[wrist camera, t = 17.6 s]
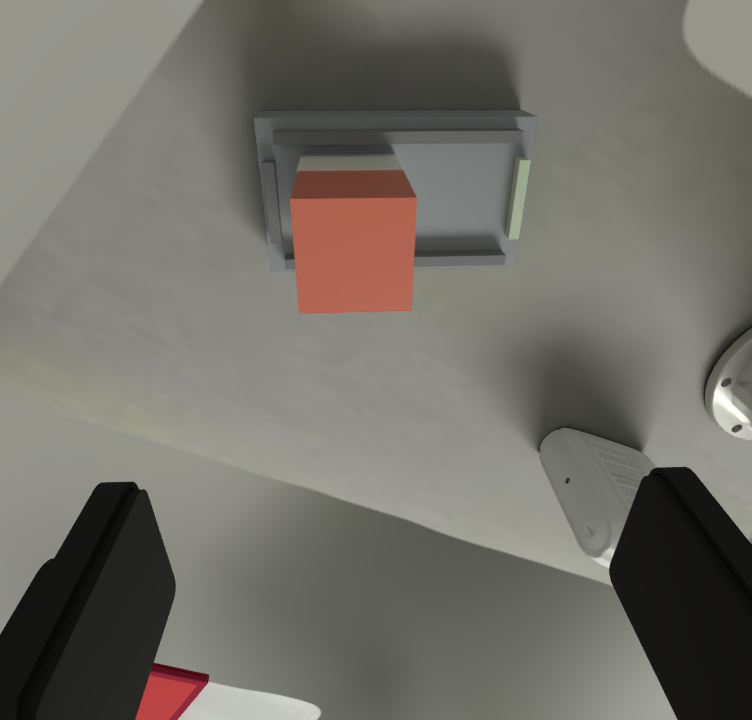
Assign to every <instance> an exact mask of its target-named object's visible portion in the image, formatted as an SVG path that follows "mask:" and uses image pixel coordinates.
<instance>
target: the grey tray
mask: <svg viewBox="0 0 752 720" xmlns="http://www.w3.org/2000/svg"><path fill="white" fill-rule="evenodd" d="M537 120H538V116H535V115H533V114H530V113H528V112H525V111H523V110H362V111H260V112H259V113H258V114H257V115H256V116H255V117H254V126H255V134H256V143H257V152H258V161H259V170H260V179H261V188H262V197H263V206H264V215H265V224H266V233H267V242H268V250H269V259H270V268H271V272H296V269H295V256H294V244H293V232H292V219H291V207H290V197H291V193H292V190H293V186H294V183H295V179H296V176H297V167H298V164H299V161H300V158H301V154H302V153H395V155H396V157H397V159H398V161H399V163H400V165H401V167H402V170H404V172H405V174H406V176H407V178H408V180H409V183H410V185H411V187H412V189H413V191H414V193H415V195H416V197H417V208H416V229H415V250H414V269H440V268H486V267H515V261H516V255H517V248H518V242H519V235H520V229H521V223H522V216H523V210H524V203H525V197H526V190H527V184H528V178H529V171H530V165H531V158H532V152H533V146H534V139H535V133H536V126H537Z"/></svg>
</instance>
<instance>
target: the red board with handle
mask: <svg viewBox="0 0 752 720" xmlns="http://www.w3.org/2000/svg"><path fill="white" fill-rule="evenodd" d="M208 680H209V674H205V673H200V672H195V671H190V670H186V669H181V668H177V667H172V666H168V665H163V664H158V663H153V666H152V669H151V672H150V675H149V678H148V682H147V685H146V688H145V691H144V694H143V697H142V700H141V703H140V707H139V710H138V713H137V716H136V719H135V720H178V718H179V717H180V716H181V715H182V714H183V712H184V711H185V710H186V709H187V708H188V706H189V705H190V704H191V703H192V702H193V700H194V699H195V698H196V697H197V696H198V694H199V693H200V692H201V691H202V690H203V688H204V687H205V686H206V685H207V684H208Z"/></svg>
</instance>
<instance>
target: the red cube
mask: <svg viewBox="0 0 752 720" xmlns="http://www.w3.org/2000/svg"><path fill="white" fill-rule="evenodd" d="M290 207H291V219H292V232H293V244H294V256H295V269H296V281H297V293H298V305H299V314H300V313H343V312H385V311H412V291H413V271H414V250H415V229H416V208H417V197H416V195H415V193H414V191H413V189H412V187H411V185H410V183H409V180H408V178H407V176H406V174H405V172H404V170H330V171H298V172H297V176H296V179H295V183H294V186H293V190H292V193H291V197H290Z"/></svg>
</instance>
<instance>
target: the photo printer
mask: <svg viewBox="0 0 752 720" xmlns="http://www.w3.org/2000/svg"><path fill="white" fill-rule="evenodd" d="M540 452H541V455H540V456H539V458H540V461H541V464H542V466H543V468H544V471H545V473H546V475H547V477H548V479H549V482H550V484H551V486H552V488H553V490H554V493H555V495H556V497H557V499H558V501H559V503H560V506H561V508H562V510H563V512H564V514H565V516H566V519H567V521H568V523H569V525H570V527H571V529H572V531H573V533H574V535H575V538H576V540H577V542H578V544H579V546H580V548H581V549H582V551H583V552H584V553H585V554H586V555H587V556H589V557H590V558H592V559H593V560H595V561H596V562H598V563H599V564H601V565H603V566H605V567H607V568H609V566H610V562H611V560H612V557H613V554H614V552H615V549H616V546H617V544H618V541H619V538H620V536H621V533H622V530H623V528H624V525H625V522H626V520H627V517H628V514H629V511H630V509H631V506H632V503H633V501H634V498H635V495H636V493H637V490H638V487H639V485H640V482H641V480H642V478H643V477H644V476H648V475H649V473H650V471H651V470H652V469H654V468H657V467H656V466H655V465H654V463H653V462H652V461H651V460H650V458H648V457H647V456H646V455H645V454H643V453H642V452H640V451H638V450H635V449H633V448H630V447H627V446H625V445H621V444H618V443H616V442H613V441H610V440H607V439H604V438H600V437H597V436H594V435H591V434H588V433H585V432H581V431H578V430H574V429H569V428H561V429H560V430H554V431H553V432H551V433H550V434H549V435H547V436H546V437H545V439H544V440H543V441H542V443H541V446H540Z"/></svg>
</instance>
